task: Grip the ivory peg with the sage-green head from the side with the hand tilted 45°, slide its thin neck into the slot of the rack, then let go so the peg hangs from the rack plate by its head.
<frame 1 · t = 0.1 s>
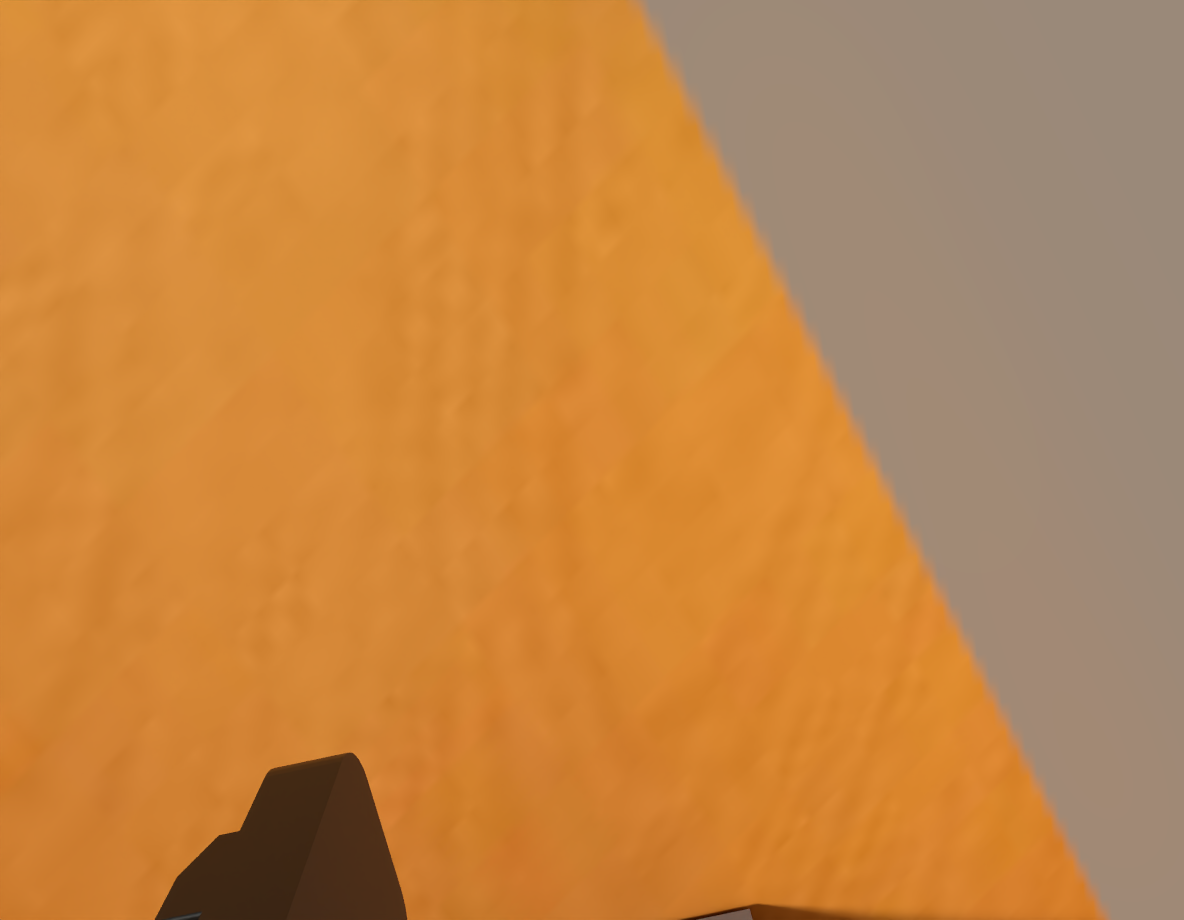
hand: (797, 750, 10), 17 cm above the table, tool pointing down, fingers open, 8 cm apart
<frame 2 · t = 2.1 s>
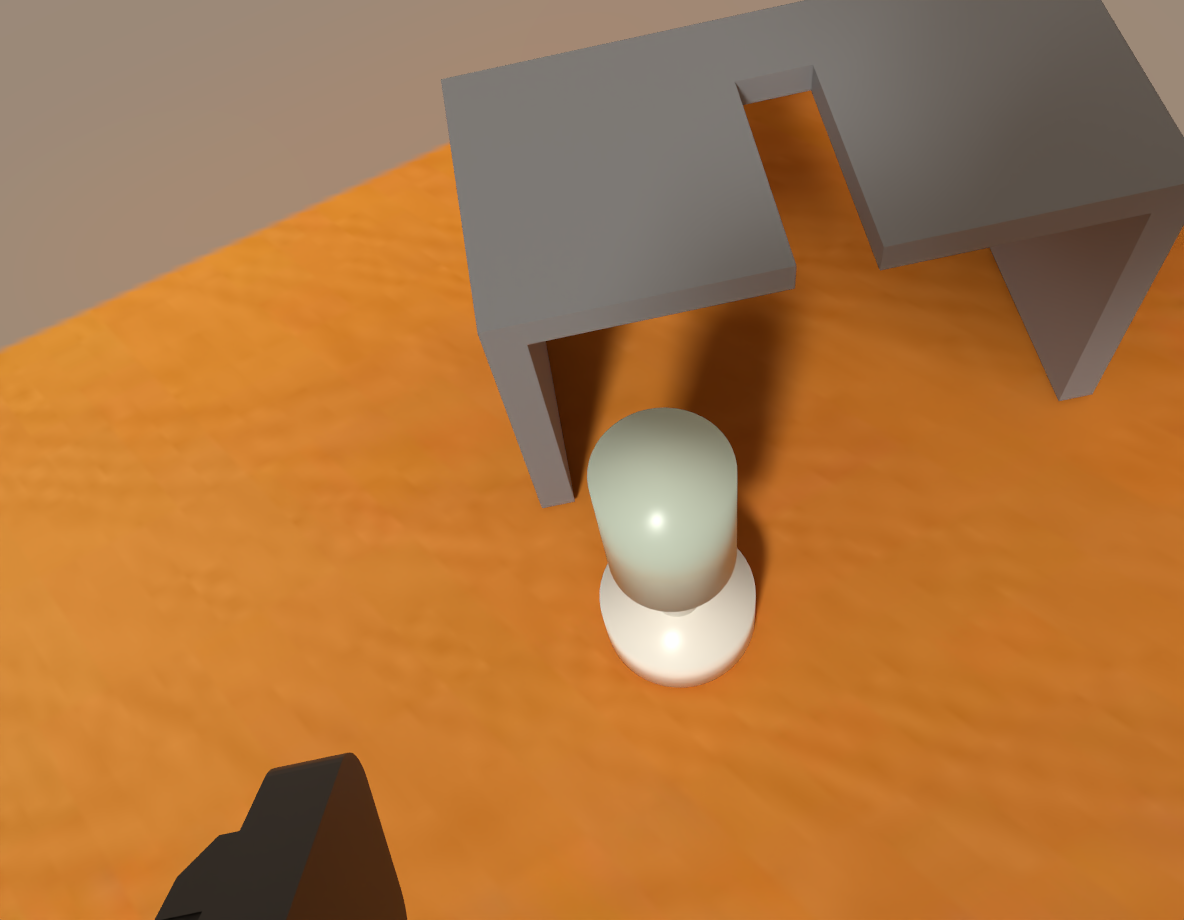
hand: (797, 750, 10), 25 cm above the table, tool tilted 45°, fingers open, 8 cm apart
slotted rack: (773, 318, 42), on the table
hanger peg: (679, 614, 37), on the table
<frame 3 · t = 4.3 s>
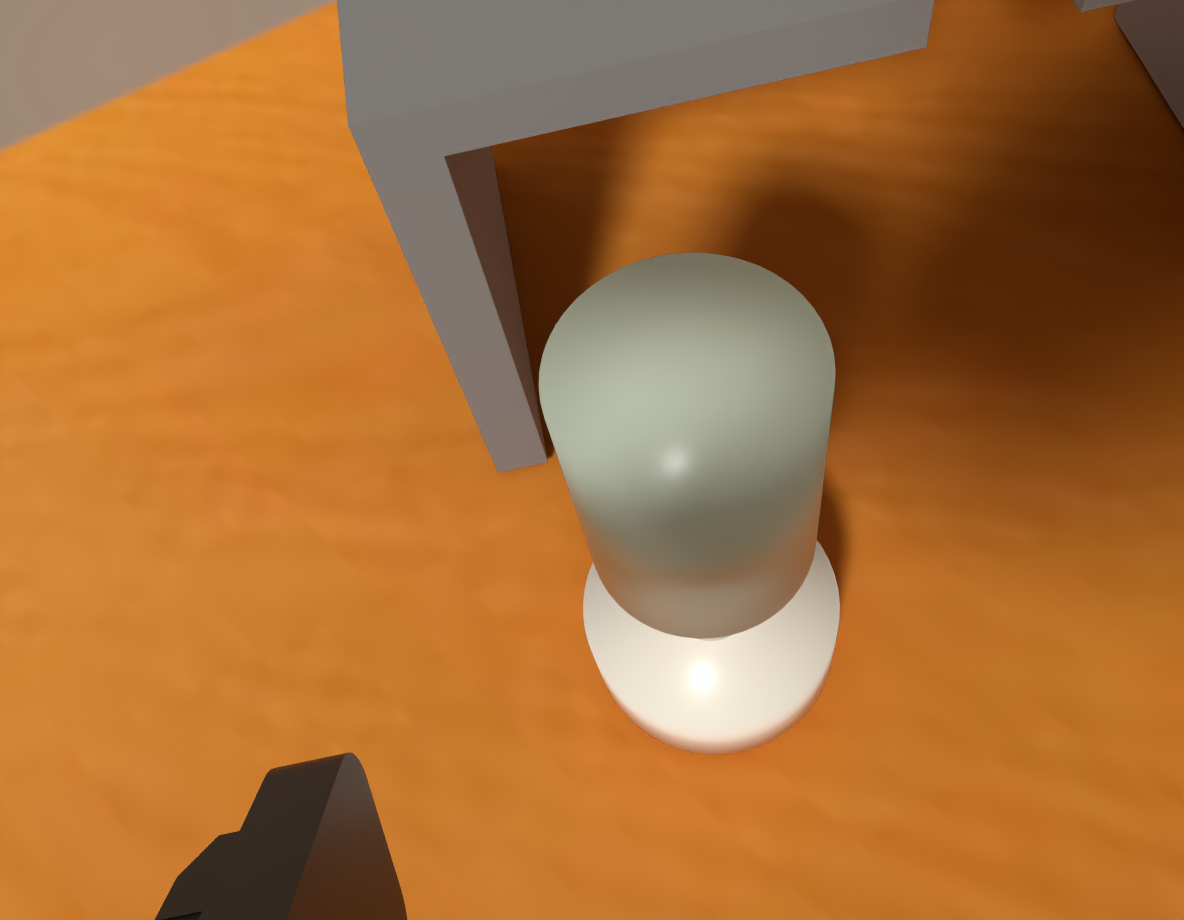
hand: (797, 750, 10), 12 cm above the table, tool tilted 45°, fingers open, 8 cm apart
slotted rack: (842, 193, 28), on the table
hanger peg: (713, 635, 23), on the table
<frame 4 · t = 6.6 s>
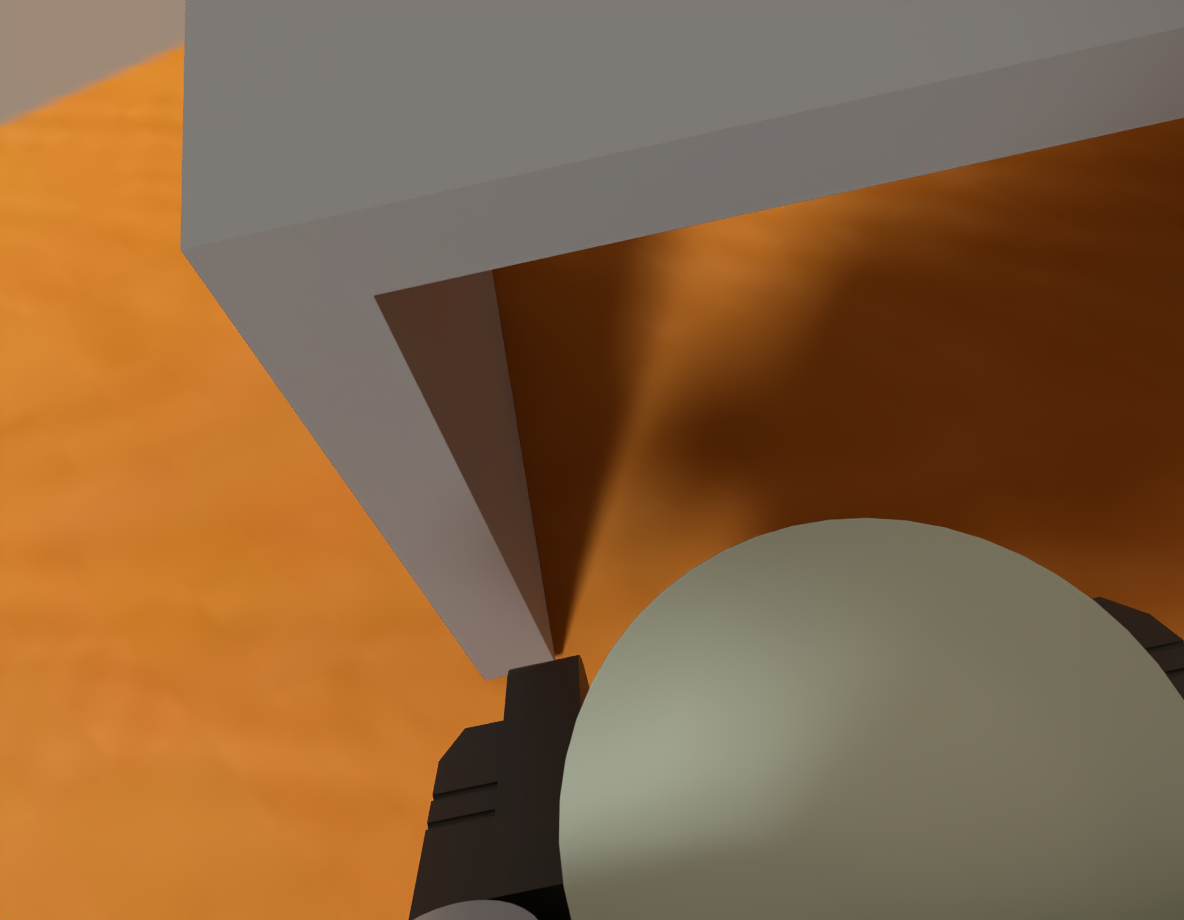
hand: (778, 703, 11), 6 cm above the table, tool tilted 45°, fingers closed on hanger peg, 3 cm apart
slotted rack: (962, 269, 21), on the table
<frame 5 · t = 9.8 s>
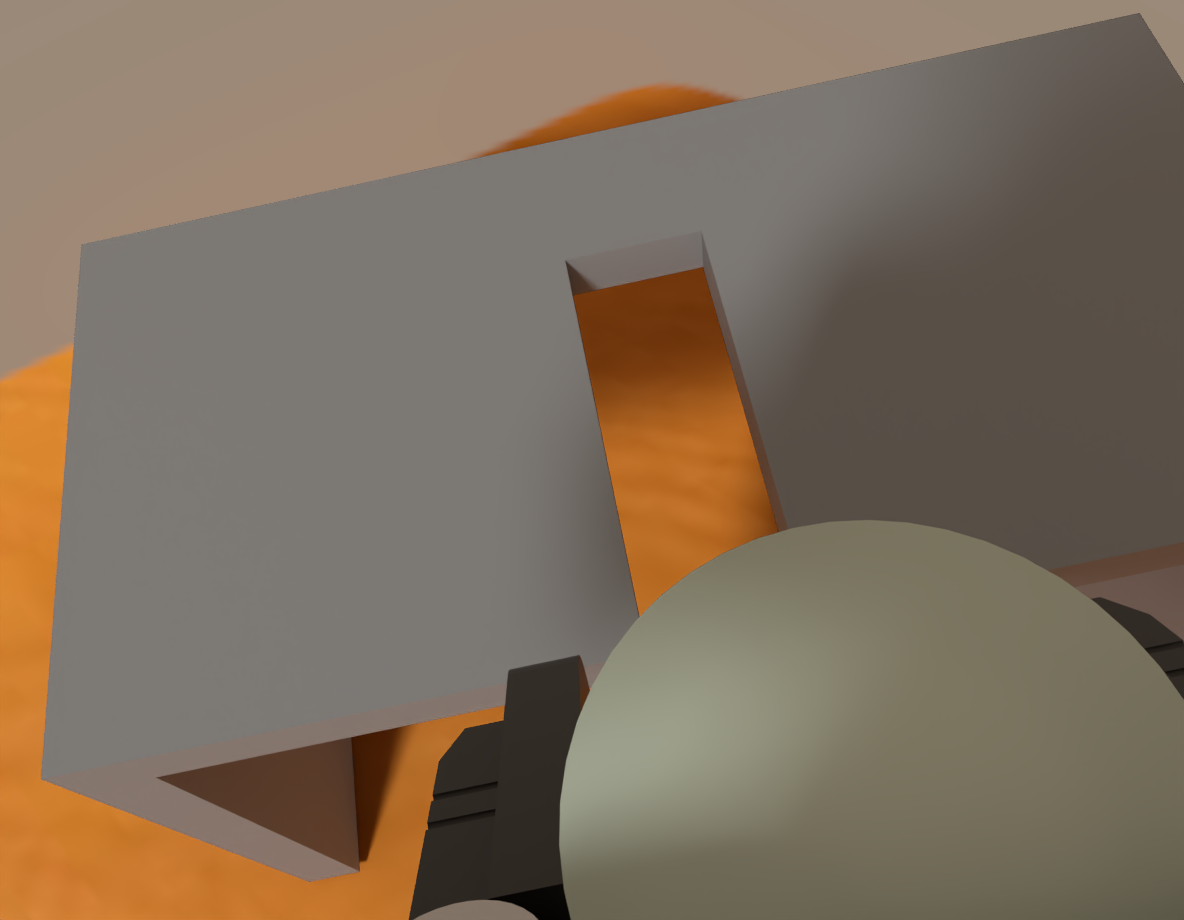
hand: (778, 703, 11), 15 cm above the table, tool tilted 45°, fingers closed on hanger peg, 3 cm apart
slotted rack: (679, 558, 28), on the table
when the fingers open (13 cm above the table, at t = 13.0 s): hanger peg drops 1 cm, resting on slotted rack.
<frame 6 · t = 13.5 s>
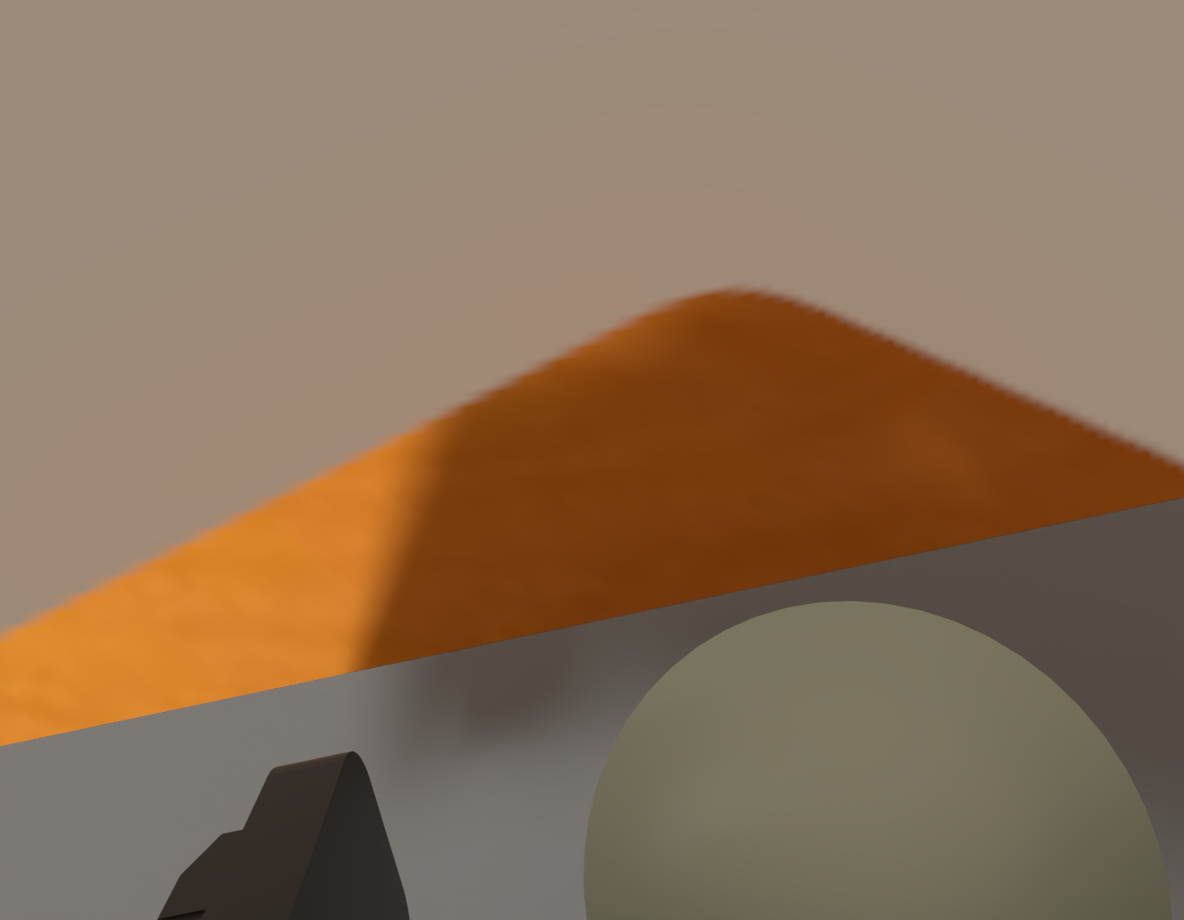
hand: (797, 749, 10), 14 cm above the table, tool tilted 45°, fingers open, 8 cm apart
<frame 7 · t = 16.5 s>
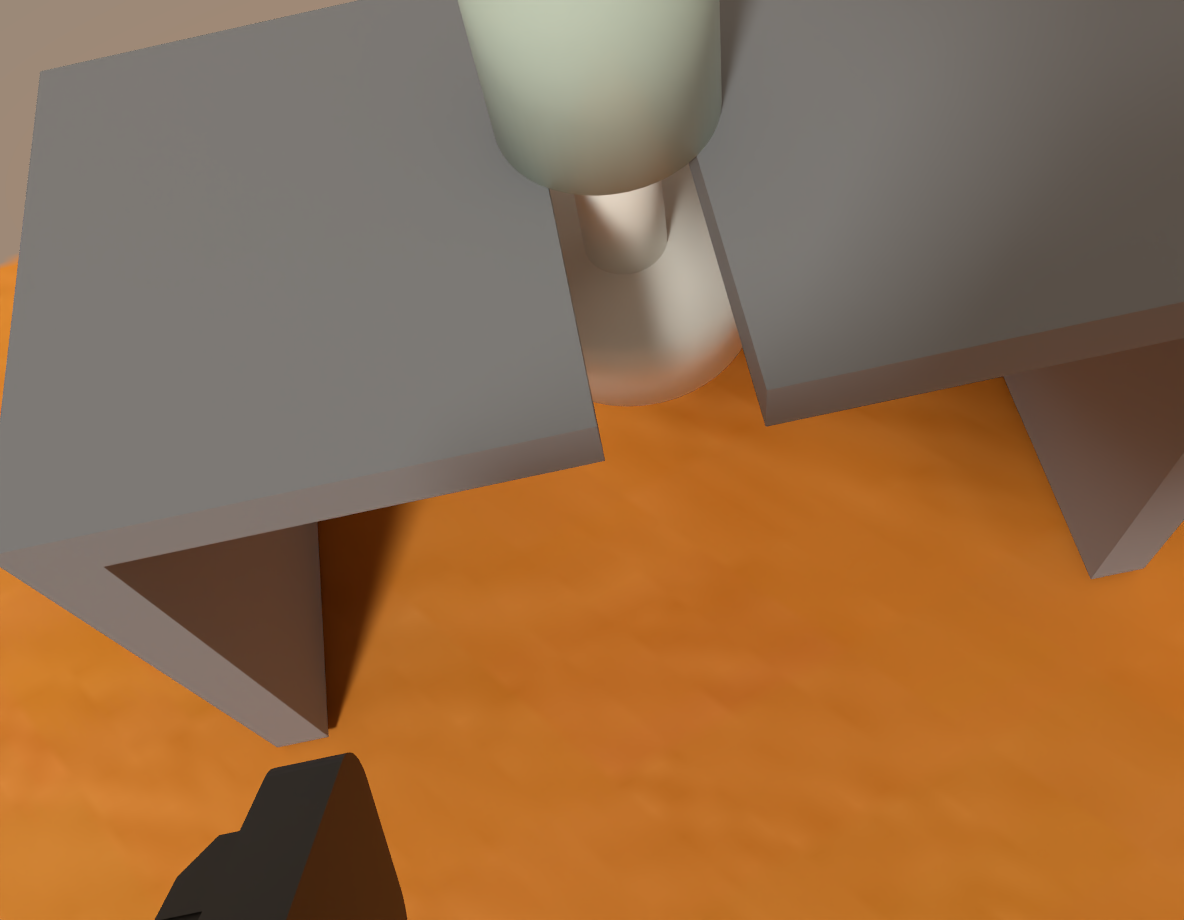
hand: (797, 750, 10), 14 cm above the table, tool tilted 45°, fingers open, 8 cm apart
slotted rack: (654, 434, 28), on the table
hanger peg: (634, 303, 23), point 6 cm above the table, touching slotted rack
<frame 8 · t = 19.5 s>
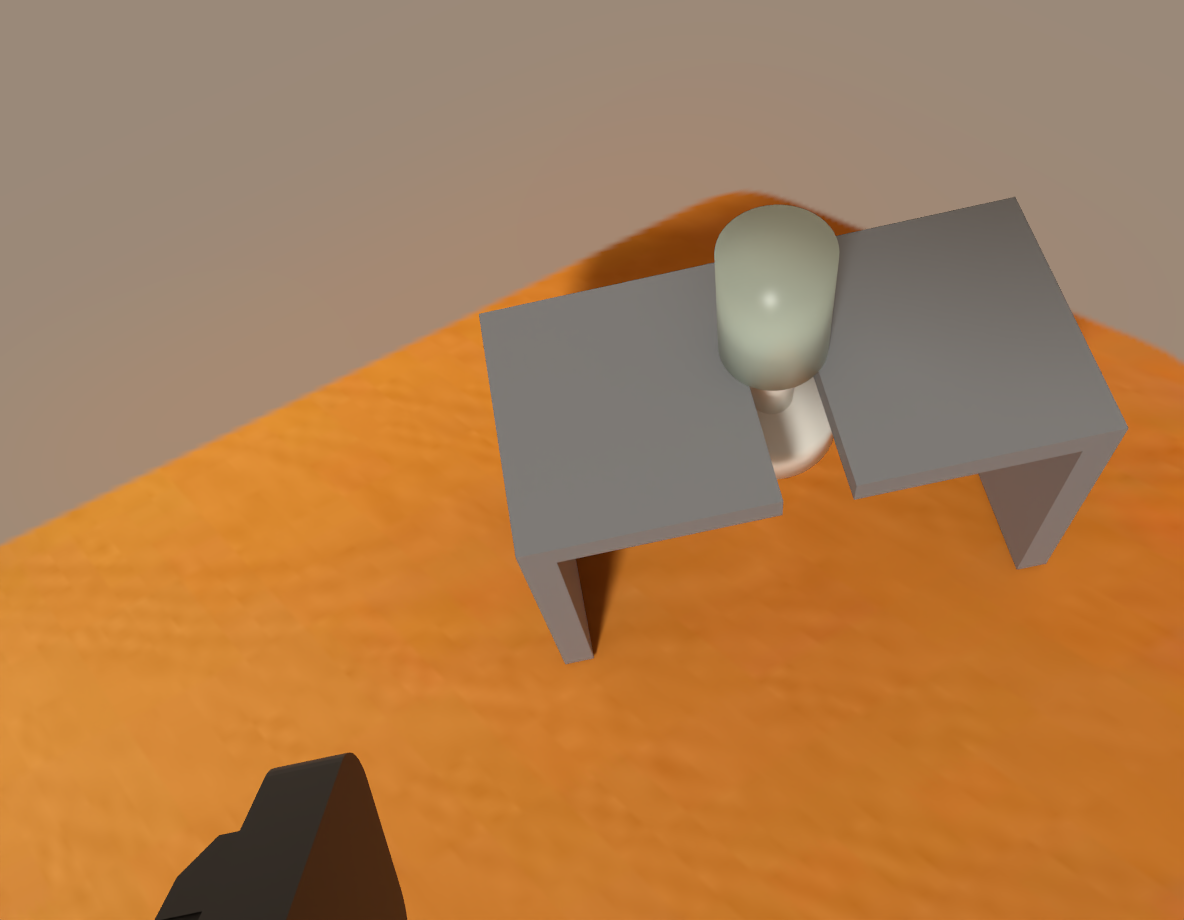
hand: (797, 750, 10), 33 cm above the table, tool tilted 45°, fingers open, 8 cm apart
slotted rack: (767, 486, 47), on the table
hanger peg: (770, 422, 43), point 6 cm above the table, touching slotted rack
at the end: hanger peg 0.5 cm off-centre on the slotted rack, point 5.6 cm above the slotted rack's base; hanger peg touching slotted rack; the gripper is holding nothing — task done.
